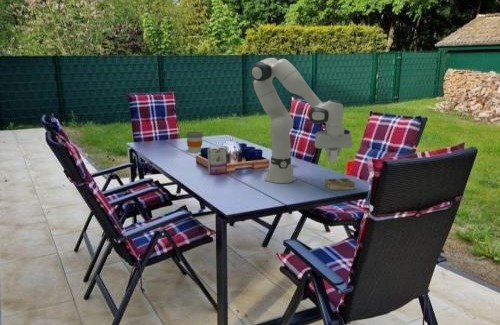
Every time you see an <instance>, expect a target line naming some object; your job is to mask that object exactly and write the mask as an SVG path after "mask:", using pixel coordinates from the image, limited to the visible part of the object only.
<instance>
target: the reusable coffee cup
mask: <svg viewBox="0 0 500 325" xmlns="http://www.w3.org/2000/svg"><path fill="white" fill-rule="evenodd" d="M185 136H186V145H187V149H188V153H189V152H190V153H189V154H199V153H198V152H200V150H201V151H202V146H203V137H204V136H203V132H201V131H189V132H186V135H185ZM200 153H201V152H200Z"/></svg>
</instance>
